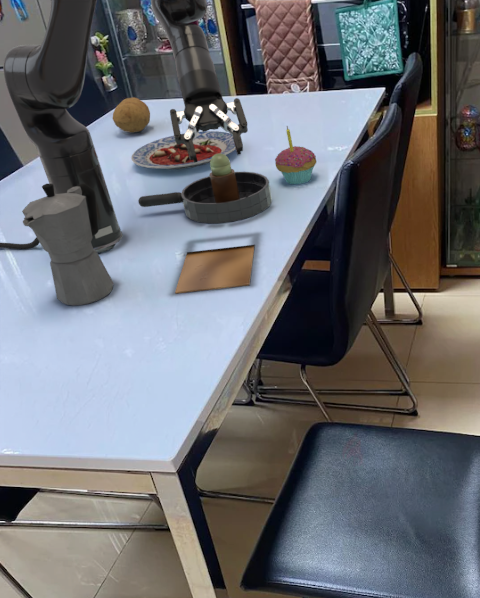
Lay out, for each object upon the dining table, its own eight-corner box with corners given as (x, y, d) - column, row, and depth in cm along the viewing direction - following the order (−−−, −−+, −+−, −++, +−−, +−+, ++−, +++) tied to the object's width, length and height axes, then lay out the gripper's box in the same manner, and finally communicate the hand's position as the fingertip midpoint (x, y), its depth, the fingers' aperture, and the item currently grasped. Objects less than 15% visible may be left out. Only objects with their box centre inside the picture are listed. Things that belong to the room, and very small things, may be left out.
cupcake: (313, 190, 144) (305, 128, 136) (273, 191, 145) (263, 130, 138) (322, 175, 150) (315, 115, 142) (284, 176, 152) (275, 117, 144)
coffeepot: (84, 315, 110) (41, 202, 99) (37, 309, 114) (-9, 199, 102) (140, 271, 121) (108, 164, 110) (96, 266, 124) (60, 162, 113)
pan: (181, 231, 133) (175, 208, 130) (192, 198, 146) (187, 177, 144) (270, 221, 133) (266, 198, 130) (273, 189, 146) (270, 167, 143)
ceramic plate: (168, 185, 155) (164, 171, 153) (115, 163, 171) (111, 150, 169) (262, 151, 167) (260, 138, 165) (205, 134, 183) (202, 122, 181)
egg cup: (215, 211, 137) (204, 159, 131) (217, 202, 141) (206, 151, 135) (240, 209, 137) (229, 156, 131) (241, 199, 141) (231, 148, 135)
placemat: (175, 293, 113) (175, 292, 113) (190, 242, 129) (190, 240, 129) (249, 285, 113) (249, 283, 113) (256, 234, 129) (255, 233, 128)
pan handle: (139, 209, 138) (136, 199, 136) (141, 205, 139) (138, 195, 138) (184, 203, 137) (182, 193, 136) (186, 200, 139) (183, 190, 138)
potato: (154, 121, 197) (147, 90, 192) (153, 135, 187) (144, 103, 182) (119, 126, 197) (110, 96, 192) (116, 141, 186) (106, 109, 181)
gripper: (158, 73, 134) (178, 153, 132) (233, 61, 136) (253, 139, 134) (164, 97, 141) (183, 172, 139) (234, 85, 143) (253, 159, 141)
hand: (217, 156), depth 137 cm, fingers open, 8 cm apart
